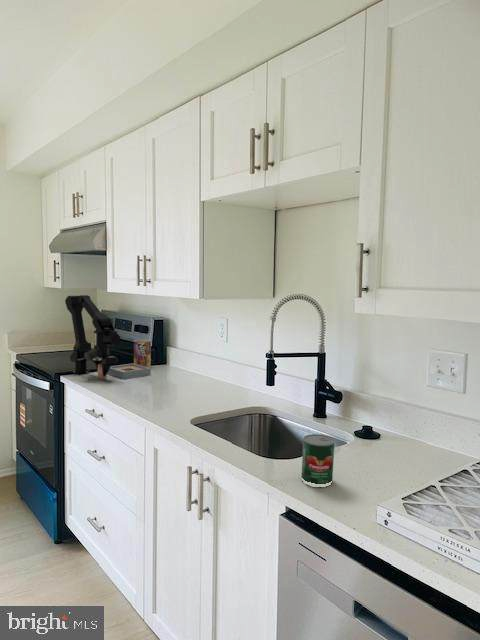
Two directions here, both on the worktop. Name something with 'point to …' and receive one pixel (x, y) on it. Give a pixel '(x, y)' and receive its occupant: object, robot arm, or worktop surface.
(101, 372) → the peg
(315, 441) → the canned tomato
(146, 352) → the candy box
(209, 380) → the worktop surface
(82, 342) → the robot arm
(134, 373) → the bin
